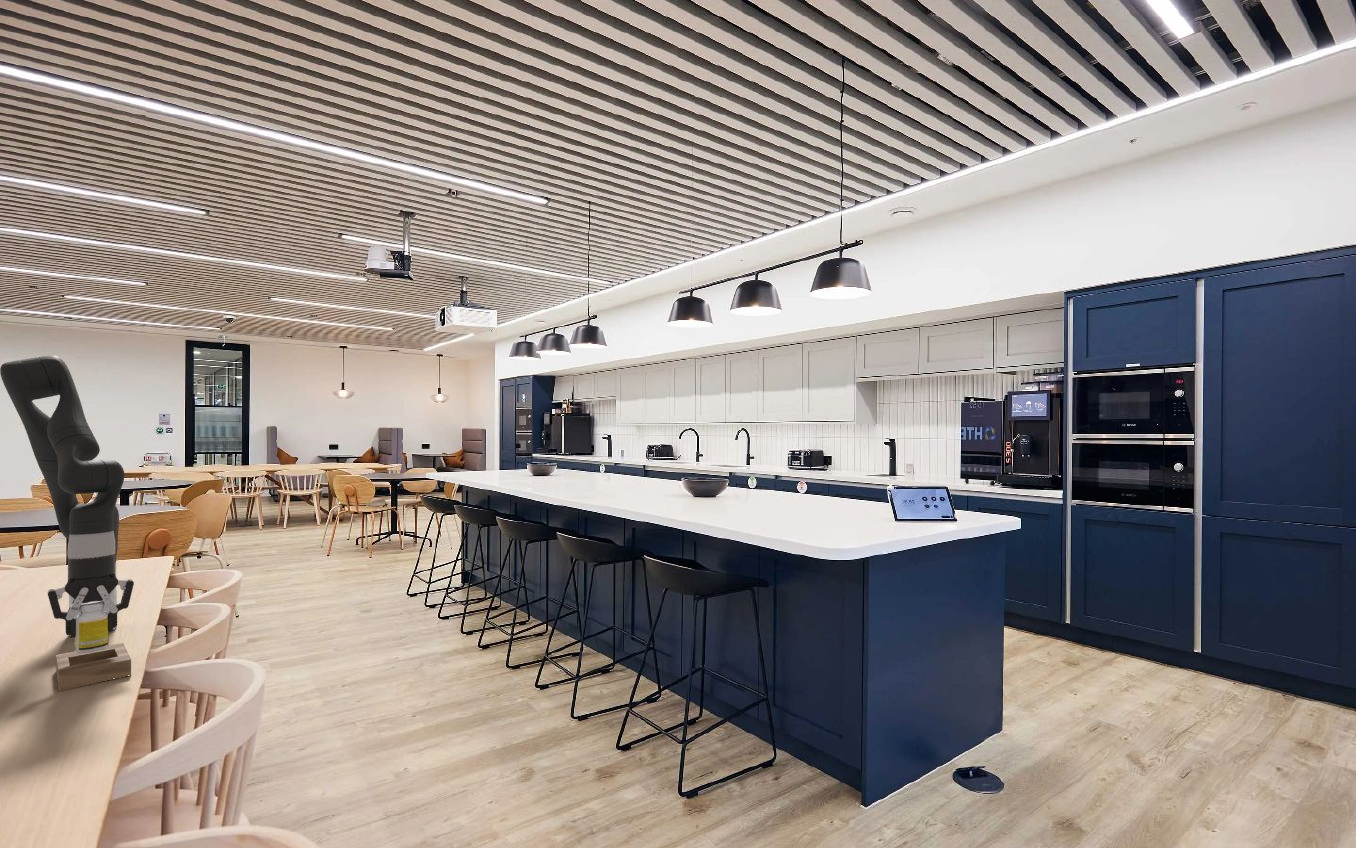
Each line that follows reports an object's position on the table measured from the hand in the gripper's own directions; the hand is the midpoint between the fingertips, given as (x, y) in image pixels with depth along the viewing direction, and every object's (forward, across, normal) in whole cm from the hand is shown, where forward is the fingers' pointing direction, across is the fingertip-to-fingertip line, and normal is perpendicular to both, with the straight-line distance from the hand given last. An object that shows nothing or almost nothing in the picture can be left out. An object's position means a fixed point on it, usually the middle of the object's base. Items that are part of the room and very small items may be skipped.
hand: (92, 633), depth 138 cm
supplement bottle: (+4, 0, 0) cm, 4 cm away
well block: (+9, 0, 0) cm, 9 cm away
